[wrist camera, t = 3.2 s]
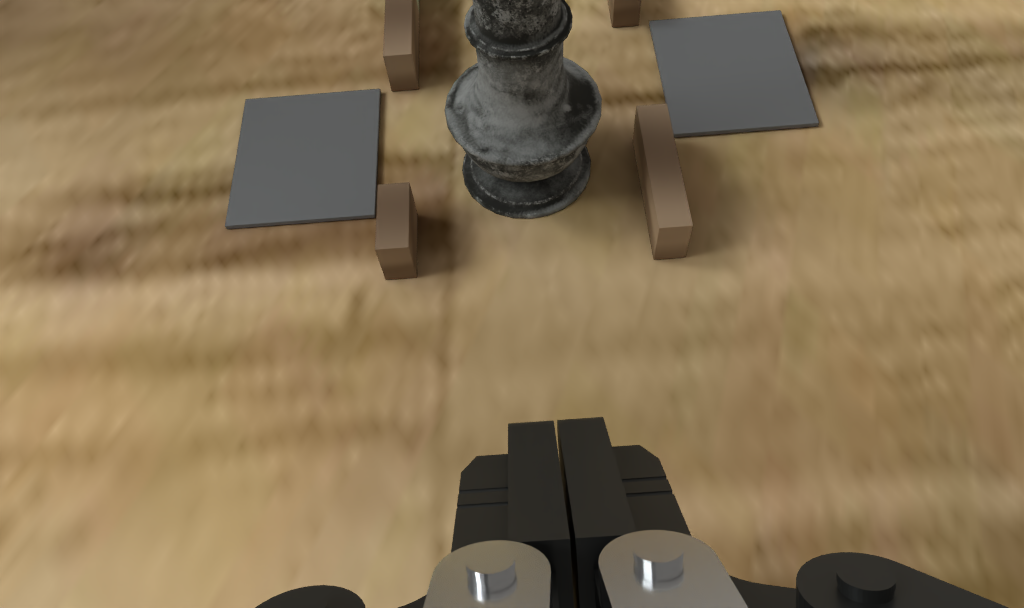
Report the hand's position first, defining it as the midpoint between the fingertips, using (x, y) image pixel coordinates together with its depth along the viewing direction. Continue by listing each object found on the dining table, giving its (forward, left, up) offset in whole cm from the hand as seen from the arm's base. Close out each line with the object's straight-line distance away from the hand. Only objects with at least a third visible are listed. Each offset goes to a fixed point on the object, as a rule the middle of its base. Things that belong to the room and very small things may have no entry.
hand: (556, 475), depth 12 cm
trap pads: (-18, +9, -13) cm, 24 cm away
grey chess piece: (-16, +8, -13) cm, 22 cm away
